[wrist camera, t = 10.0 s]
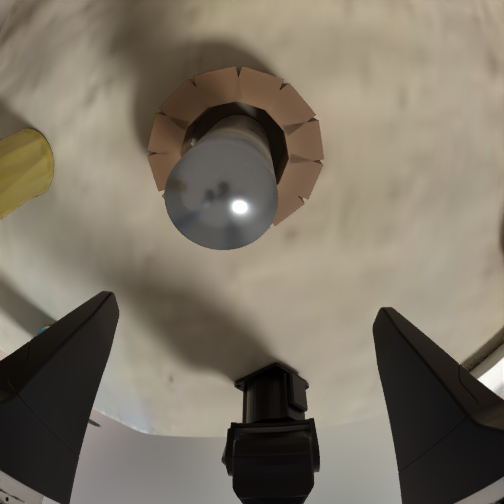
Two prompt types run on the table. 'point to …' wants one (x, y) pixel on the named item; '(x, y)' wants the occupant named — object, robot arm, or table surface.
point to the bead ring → (255, 94)
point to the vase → (23, 169)
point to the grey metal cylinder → (224, 186)
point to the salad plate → (492, 371)
